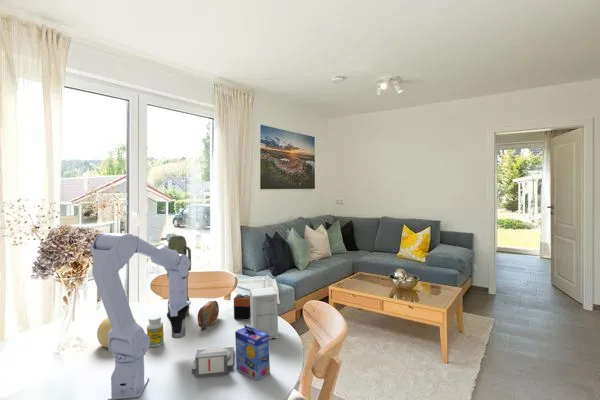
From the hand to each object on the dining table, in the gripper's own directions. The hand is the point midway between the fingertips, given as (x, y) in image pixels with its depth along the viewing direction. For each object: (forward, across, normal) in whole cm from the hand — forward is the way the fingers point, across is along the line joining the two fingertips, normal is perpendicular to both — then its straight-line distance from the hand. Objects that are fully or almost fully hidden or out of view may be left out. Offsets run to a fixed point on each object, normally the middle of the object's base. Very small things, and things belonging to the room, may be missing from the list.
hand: (178, 329), depth 112 cm
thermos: (+9, +37, +7) cm, 39 cm away
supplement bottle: (+9, +10, +10) cm, 17 cm away
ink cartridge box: (+9, -15, -24) cm, 30 cm away
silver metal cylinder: (+2, 0, 0) cm, 2 cm away
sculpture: (+9, +13, +24) cm, 29 cm away
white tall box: (+9, +10, -29) cm, 32 cm away
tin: (+9, +25, -7) cm, 27 cm away
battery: (+9, +29, -21) cm, 37 cm away
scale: (+8, -8, -12) cm, 17 cm away
